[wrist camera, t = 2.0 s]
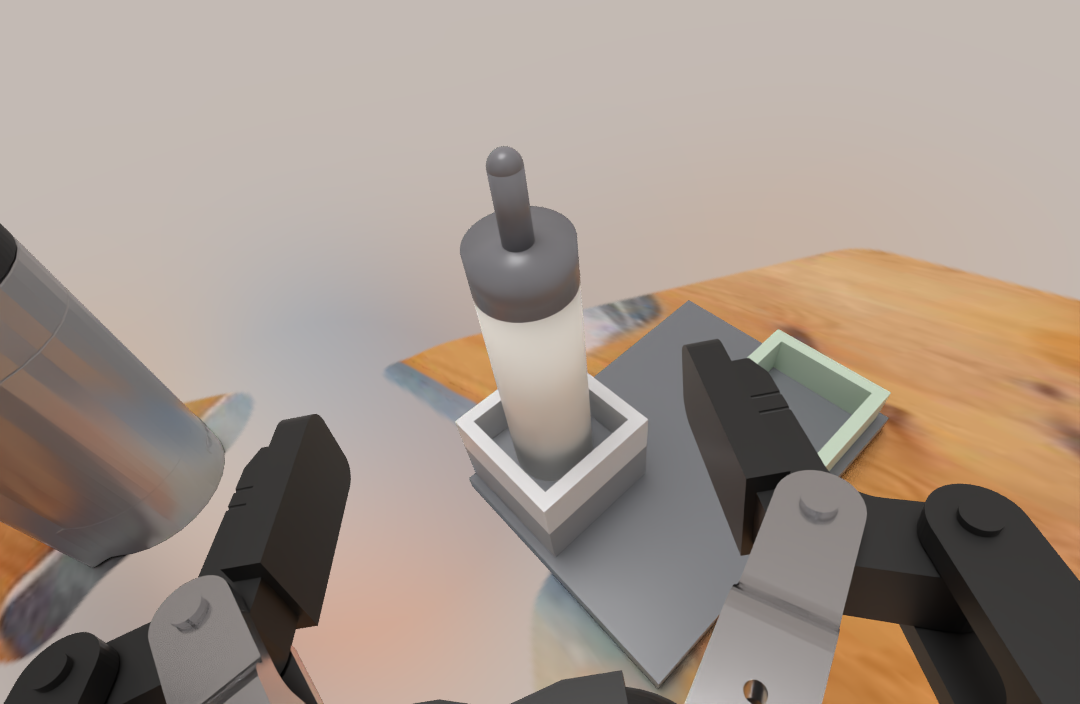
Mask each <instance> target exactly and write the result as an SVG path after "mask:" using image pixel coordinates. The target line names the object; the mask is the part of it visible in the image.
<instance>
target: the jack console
mask: <svg viewBox="0 0 1080 704" xmlns="http://www.w3.org/2000/svg"><path fill="white" fill-rule="evenodd" d="M713 339H719V340H720V341H721V342H722V344H723V346H724V348H725V350H726V351H727V353H728V355H729V357H730V359H731V361H733V360H739V359H744V358H750V359H751V360H753V361H754V362H755V363H757V364H758V365H760V366H761V367H762V368H764V369H765V370H766V371H768V372H769V374H770V375H771V377H772V379H773V380H774V382H775V384H776V385H777V387H778V389H779V390H780V394H782V395H783V397H784V399H785V400H786V402H787V404H788V405H789V409H790V410H792V412H793V414H794V415H795V417H796V419H797V420H798V422H799V423H800V425H801V427H802V428H803V430H804V432H805V433H806V435H807V437H808V438H809V440H810V442H811V443H812V445H813V447H814V448H815V450H816V452H817V453H818V455H819V457H820V458H821V460H822V462H823V463H824V465H825V466H826V468H827V469H828V471H829V472H830V473H831V474H833V475H836V476H838V477H841V476H842V474H843V473H844V472H845V471H846V470H847V469H848V467H849V466H850V465H851V464H852V463H853V462H854V460H855V459H856V458H857V457H858V456H859V455H860V453H861V452H862V451H863V450H864V449H865V448H866V447H867V445H868V444H869V443H870V442H871V441H872V440H873V438H874V437H875V436H876V435H877V434H878V433H879V431H880V430H881V429H882V428H883V427H884V425H885V423H886V422H887V420H888V419H889V418H888V417H886V416H884V415H883V414H881V413H879V412H880V410H881V409H882V407H883V405H884V404H885V402H886V400H887V399H888V397H889V395H890V394H891V393H890V392H889V391H887V390H885V389H883V388H882V387H880V386H878V385H876V384H875V383H873V382H871V381H869V380H867V379H866V378H864V377H862V376H860V375H859V374H857V373H855V372H853V371H851V370H850V369H848V368H846V367H844V366H843V365H841V364H839V363H837V362H836V361H834V360H832V359H830V358H828V357H827V356H825V355H823V354H821V353H820V352H818V351H816V350H814V349H812V348H811V347H809V346H807V345H805V344H804V343H802V342H800V341H798V340H796V339H795V338H793V337H791V336H789V335H788V334H786V333H784V332H782V331H781V330H779V329H778V330H777V331H776V332H774V333H773V334H772V335H771V336H770V337H769V338H768V339H767V340H766V341H765V342H764V343H761V342H759V341H757V340H756V339H754V338H752V337H750V336H749V335H747V334H745V333H744V332H742V331H740V330H739V329H737V328H735V327H733V326H732V325H730V324H728V323H727V322H725V321H723V320H722V319H720V318H718V317H716V316H715V315H713V314H711V313H710V312H708V311H706V310H705V309H703V308H701V307H700V306H698V305H696V304H694V303H693V302H691V301H689V300H688V301H687V302H686V303H685V304H683V305H682V306H681V307H680V308H679V309H677V310H676V311H675V312H674V313H672V314H671V315H670V316H669V317H667V318H666V319H665V320H664V321H662V322H661V323H660V324H659V325H658V326H656V327H655V328H654V329H653V330H651V331H650V332H649V333H648V334H646V335H645V336H644V337H643V338H642V339H640V340H639V341H638V342H637V343H635V344H634V345H633V346H632V347H630V348H629V349H628V350H627V351H625V352H624V353H623V354H622V355H621V356H619V357H618V358H617V359H616V360H614V361H613V362H612V363H611V364H609V365H608V366H607V367H606V368H605V369H603V370H602V371H601V372H600V373H598V374H597V375H596V376H595V377H592V376H591V375H590V374H589V373H587V375H588V388H589V401H590V414H591V427H592V440H593V451H592V452H591V453H590V454H588V455H587V456H586V457H585V458H584V459H583V460H582V461H580V462H579V463H578V464H577V465H576V466H575V467H574V468H572V469H571V470H570V471H569V472H568V473H567V474H566V475H564V476H563V477H562V478H561V479H560V480H559V481H545V480H540V479H537V478H535V477H533V476H531V475H530V474H528V473H527V472H526V471H525V470H524V469H523V468H522V467H521V465H520V464H519V462H518V459H517V456H516V452H515V449H514V445H513V441H512V438H511V434H510V431H509V427H508V423H507V420H506V416H505V413H504V409H503V406H502V402H501V398H500V395H499V391H498V389H497V390H496V391H495V392H493V393H492V394H491V395H489V396H488V397H487V398H485V399H484V400H483V401H481V402H480V403H479V404H478V405H476V406H475V407H474V408H472V409H471V410H470V411H468V412H467V413H466V414H464V415H463V416H462V417H460V418H459V419H458V420H456V421H455V423H456V426H457V428H458V431H459V433H460V435H461V438H462V440H463V443H464V445H465V448H466V450H467V453H468V455H469V457H470V460H471V462H472V465H473V467H474V470H475V472H476V473H475V474H474V475H473V476H471V477H470V482H471V484H472V486H473V487H474V488H475V490H476V491H477V492H478V493H479V494H480V495H481V496H482V497H483V498H484V499H485V500H486V502H487V503H488V504H489V505H490V506H491V507H492V508H493V509H494V510H495V511H496V512H497V514H498V515H499V516H500V517H501V518H502V519H503V520H504V521H505V522H506V523H507V524H508V526H509V527H510V528H511V529H512V530H513V531H514V532H515V533H516V534H517V535H518V536H519V538H520V539H521V540H522V541H523V542H524V543H525V544H526V545H527V546H528V547H529V548H530V550H531V551H532V552H533V553H534V554H535V555H536V556H537V557H538V558H539V559H540V560H541V562H542V563H543V564H544V565H545V566H546V567H547V568H548V569H549V570H550V571H551V573H552V574H553V575H554V576H555V577H556V578H557V579H558V580H559V581H560V582H561V583H562V585H563V586H564V587H565V588H566V589H567V590H568V591H569V592H570V593H571V594H572V595H573V597H574V598H575V599H576V600H577V601H578V602H579V603H580V604H581V605H582V606H583V607H584V609H585V610H586V611H587V612H588V613H589V614H590V615H591V616H592V617H593V618H594V619H595V621H596V622H597V623H598V624H599V625H600V626H601V627H602V628H603V629H604V630H605V631H606V633H607V634H608V635H609V636H610V637H611V638H612V639H613V640H614V641H615V642H616V644H617V645H618V646H619V647H620V648H621V649H622V650H623V651H624V652H625V653H626V654H627V656H628V657H629V658H630V659H631V660H632V661H633V662H634V663H635V664H636V665H637V666H638V668H639V669H640V670H641V671H642V672H643V673H644V674H645V675H646V676H647V677H648V678H649V680H650V681H651V682H652V683H653V684H654V685H655V686H656V687H657V688H659V687H660V686H661V685H662V683H663V682H664V681H665V680H666V679H667V678H668V677H669V675H670V674H671V673H672V672H673V671H674V670H675V668H676V667H677V666H678V665H679V664H680V663H681V661H682V660H683V659H684V658H685V657H686V656H687V654H688V653H689V652H690V651H691V650H692V649H693V647H694V646H695V645H696V644H697V643H698V642H699V640H700V639H701V638H702V637H703V636H704V635H705V634H706V632H707V631H708V630H709V629H710V628H711V627H712V625H713V624H714V623H715V622H716V621H717V620H718V618H719V615H720V613H721V610H722V608H723V605H724V603H725V600H726V598H727V596H728V593H729V591H730V589H731V588H732V586H733V585H734V584H737V583H738V582H739V580H740V578H741V576H742V573H743V571H744V568H745V566H746V563H747V561H748V558H749V555H750V554H749V555H743V556H741V555H740V553H739V550H738V548H737V545H736V543H735V540H734V538H733V535H732V532H731V530H730V527H729V525H728V522H727V520H726V517H725V515H724V512H723V509H722V507H721V504H720V502H719V499H718V497H717V494H716V491H715V489H714V486H713V484H712V481H711V479H710V476H709V474H708V471H707V468H706V466H705V463H704V461H703V458H702V456H701V453H700V451H699V448H698V445H697V443H696V440H695V438H694V435H693V433H692V430H691V427H690V425H689V422H688V419H687V415H686V411H685V405H684V398H683V371H682V347H683V345H687V344H692V343H697V342H702V341H708V340H713Z"/></svg>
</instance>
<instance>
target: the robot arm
mask: <svg viewBox="0 0 1080 704" xmlns="http://www.w3.org/2000/svg"><path fill="white" fill-rule="evenodd" d="M682 371H683V398H684V405H685V411H686V415H687V419H688V422H689V425H690V427H691V430H692V433H693V435H694V438H695V440H696V443H697V445H698V448H699V451H700V453H701V456H702V458H703V461H704V463H705V466H706V468H707V471H708V474H709V476H710V479H711V481H712V484H713V486H714V489H715V491H716V494H717V497H718V499H719V502H720V504H721V507H722V509H723V512H724V515H725V517H726V520H727V522H728V525H729V527H730V530H731V532H732V535H733V538H734V540H735V543H736V545H737V548H738V550H739V553H740V555H741V556H743V555H749V554H750V555H749V558H748V561H747V563H746V566H745V568H744V571H743V573H742V576H741V578H740V580H739V582H738V583H737V584H734V585H733V586H732V588H731V589H730V591H729V593H728V596H727V598H726V600H725V603H724V605H723V608H722V610H721V613H720V615H719V618H718V620H717V623H716V625H715V628H714V630H713V633H712V636H711V638H710V641H709V643H708V646H707V648H706V651H705V653H704V656H703V658H702V661H701V663H700V666H699V668H698V671H697V674H696V676H695V679H694V681H693V684H692V686H691V689H690V691H689V694H688V696H687V699H686V701H685V704H822V701H823V697H824V693H825V689H826V685H827V681H828V676H829V672H830V668H831V664H832V660H833V656H834V652H835V648H836V644H837V640H838V635H839V630H840V629H839V628H840V623H841V619H842V615H848V616H854V617H860V618H866V619H872V620H879V621H885V622H891V623H897V624H899V625H900V627H901V629H902V631H903V633H904V635H905V637H906V639H907V641H908V643H909V645H910V647H911V649H912V650H913V652H914V654H915V656H916V658H917V660H918V662H919V664H920V666H921V668H922V670H923V672H924V674H925V676H926V678H927V680H928V682H929V684H930V686H931V688H932V690H933V692H934V694H935V696H936V698H937V700H938V702H939V704H1080V581H1079V580H1078V578H1077V577H1076V576H1075V575H1074V573H1073V572H1072V571H1071V570H1070V568H1069V567H1068V566H1067V565H1066V563H1065V562H1064V561H1063V560H1062V558H1061V557H1060V556H1059V555H1058V553H1057V552H1056V551H1055V550H1054V548H1053V547H1052V546H1051V545H1050V543H1049V542H1048V541H1047V540H1046V538H1045V537H1044V536H1043V535H1042V533H1041V532H1040V531H1039V530H1038V528H1037V527H1036V526H1035V525H1034V523H1033V522H1032V521H1031V520H1030V518H1029V517H1028V516H1027V515H1026V514H1025V513H1024V511H1023V510H1022V509H1021V508H1020V507H1018V506H1017V505H1016V504H1015V503H1014V502H1012V501H1011V500H1009V499H1008V498H1006V497H1004V496H1002V495H1000V494H999V493H997V492H994V491H992V490H989V489H986V488H983V487H980V486H975V485H970V484H950V485H945V486H942V487H940V488H938V489H936V490H934V491H933V492H932V493H931V494H930V495H929V496H928V498H927V500H926V502H918V501H908V500H899V499H889V498H881V497H874V496H870V495H867V494H863V493H861V492H858V491H857V490H856V489H855V488H854V487H853V486H852V485H851V484H849V483H848V482H847V481H845V480H844V479H842V478H840V477H838V476H836V475H833V474H831V473H830V472H829V471H828V469H827V468H826V466H825V465H824V463H823V462H822V460H821V458H820V457H819V455H818V453H817V452H816V450H815V448H814V447H813V445H812V443H811V442H810V440H809V438H808V437H807V435H806V433H805V432H804V430H803V428H802V427H801V425H800V423H799V422H798V420H797V419H796V417H795V415H794V414H793V412H792V410H790V409H789V405H788V404H787V402H786V400H785V399H784V397H783V395H782V394H780V390H779V389H778V387H777V385H776V384H775V382H774V380H773V379H772V377H771V375H770V374H769V372H768V371H766V370H765V369H764V368H762V367H761V366H760V365H758V364H757V363H755V362H754V361H753V360H751V359H750V358H744V359H739V360H733V361H731V359H730V357H729V355H728V353H727V351H726V350H725V348H724V346H723V344H722V342H721V341H720V340H719V339H713V340H708V341H702V342H697V343H692V344H687V345H683V347H682ZM224 464H225V458H224V450H223V447H222V444H221V442H220V440H219V439H218V438H217V437H216V436H215V435H214V433H213V432H212V431H211V430H210V429H209V428H207V426H206V425H205V424H204V423H203V422H202V420H201V419H200V418H198V417H197V416H196V415H195V414H194V413H192V412H191V411H190V410H189V409H188V408H187V407H186V406H185V405H184V404H183V403H182V402H181V401H180V400H179V399H178V398H177V397H176V396H175V395H174V394H173V393H172V392H171V391H170V390H169V389H168V388H167V387H166V386H165V385H164V384H163V383H162V382H161V381H160V380H159V379H158V378H157V377H156V376H155V375H154V374H153V373H152V372H151V371H150V370H149V369H148V368H147V367H146V366H145V365H144V364H143V363H142V362H141V361H139V359H138V358H137V357H136V356H135V355H133V354H132V353H131V351H129V350H128V349H127V348H126V347H125V346H124V345H123V344H122V343H121V342H120V341H119V340H118V339H117V338H116V337H115V336H114V335H113V334H112V333H111V332H110V331H109V330H108V329H107V328H106V327H105V326H104V325H103V324H102V323H101V322H100V321H99V320H98V319H97V318H96V317H95V316H94V315H93V314H92V313H91V312H90V311H89V310H88V309H87V308H86V307H85V306H84V305H83V304H82V303H81V302H80V301H78V299H77V298H76V297H75V296H74V295H73V294H71V293H70V292H69V290H68V289H67V288H65V287H64V286H63V285H62V284H61V283H60V282H59V281H58V280H57V279H56V278H55V277H54V276H53V275H52V274H51V273H50V272H49V271H48V270H47V269H46V268H45V267H44V266H43V265H42V264H41V263H40V262H39V261H38V260H37V259H36V258H35V257H34V256H33V255H32V254H31V253H30V252H29V251H28V250H27V249H26V248H25V247H24V246H23V245H22V244H21V243H19V241H18V240H17V239H15V238H14V237H13V236H12V235H11V233H9V231H8V230H7V229H6V228H4V227H3V226H2V225H1V224H0V521H1V522H3V523H5V524H7V525H9V526H11V527H13V528H15V529H17V530H19V531H21V532H23V533H25V534H26V535H28V536H30V537H32V538H34V539H36V540H38V541H40V542H42V543H44V544H46V545H48V546H50V547H52V548H54V549H56V550H58V551H60V552H62V553H64V554H66V555H68V556H70V557H72V558H74V559H76V560H78V561H80V562H82V563H84V564H86V565H88V566H90V567H95V566H97V565H98V564H100V563H101V562H103V561H104V560H106V559H108V558H110V557H113V556H119V555H126V554H133V553H137V552H139V551H143V550H146V549H149V548H151V547H153V546H156V545H158V544H160V543H162V542H163V541H165V540H167V539H169V538H170V537H172V536H173V535H174V534H176V533H178V532H179V531H180V530H182V529H183V528H184V527H185V526H186V525H188V524H189V523H190V522H191V521H192V520H193V519H194V518H195V517H196V516H197V515H198V514H199V513H200V512H201V511H202V509H203V508H204V507H205V506H206V505H207V504H208V502H209V500H210V499H211V497H212V496H213V494H214V492H215V491H216V489H217V487H218V485H219V482H220V479H221V477H222V474H223V469H224ZM350 477H351V476H350V468H349V464H348V461H347V459H346V457H345V455H344V453H343V452H342V450H341V448H340V447H339V445H338V443H337V442H336V440H335V438H334V437H333V435H332V434H331V432H330V430H329V429H328V427H327V425H326V424H325V422H324V420H323V419H322V418H321V417H320V416H319V415H317V414H312V415H307V416H302V417H297V418H291V419H286V420H282V421H281V422H280V423H279V424H278V425H277V428H276V430H275V432H274V435H273V437H272V440H271V443H270V445H269V447H264V448H261V449H260V450H259V451H258V453H257V454H256V455H255V456H254V457H253V459H252V460H251V461H250V462H249V463H248V465H247V466H246V467H245V468H244V470H243V473H242V475H241V478H240V480H239V482H238V484H237V487H236V493H234V494H233V496H232V499H231V501H230V504H229V506H228V507H229V510H228V511H226V513H225V515H224V518H223V520H222V522H221V525H220V527H219V529H218V532H217V534H216V536H215V539H214V541H213V543H212V546H211V548H210V551H209V553H208V555H207V558H206V560H205V562H204V565H203V568H202V569H201V572H200V574H199V576H198V578H195V579H193V580H191V581H189V582H187V583H185V584H184V585H182V586H180V587H179V588H178V589H177V590H175V591H174V592H173V593H172V594H171V595H170V596H169V597H167V599H166V600H165V601H164V602H163V603H162V604H161V606H160V607H159V608H158V610H157V611H156V613H155V615H154V617H153V619H152V621H151V622H150V623H148V624H145V625H143V626H141V627H139V628H137V629H135V630H133V631H131V632H129V633H126V634H124V635H122V636H120V637H118V638H116V639H114V640H111V641H109V642H107V643H105V642H103V641H102V640H100V639H99V638H97V637H96V636H95V635H93V634H91V633H87V632H80V633H75V634H72V635H69V636H66V637H64V638H62V639H60V640H58V641H56V642H55V643H53V644H52V645H51V646H49V647H47V648H46V649H45V650H44V651H42V652H41V653H40V654H39V655H38V656H37V657H36V658H35V659H34V660H33V661H32V662H31V663H30V664H29V665H28V666H27V667H26V668H25V670H24V671H23V672H22V673H21V675H20V676H19V678H18V679H17V681H16V683H15V684H14V686H13V688H12V690H11V691H10V693H9V695H8V697H7V699H6V701H5V702H4V704H324V703H323V701H322V699H321V697H320V695H319V693H318V691H317V689H316V688H315V686H314V684H313V682H312V680H311V678H310V676H309V674H308V672H307V670H306V668H305V666H304V664H303V662H302V660H301V659H300V657H299V655H298V653H297V651H296V650H295V648H294V647H293V646H292V642H293V637H294V633H295V630H296V629H300V628H306V627H312V626H318V622H319V618H320V613H321V609H322V604H323V600H324V596H325V592H326V588H327V583H328V579H329V575H330V570H331V566H332V561H333V557H334V553H335V548H336V544H337V540H338V536H339V531H340V527H341V522H342V518H343V514H344V509H345V505H346V500H347V496H348V492H349V487H350V480H351V478H350ZM415 704H466V703H459V702H452V701H446V700H434V701H427V702H421V703H415ZM511 704H676V703H675V702H673V701H671V700H669V699H667V698H664V697H662V696H660V695H658V694H655V693H652V692H648V691H645V690H641V689H636V688H629V687H625V682H624V678H623V673H622V670H621V671H615V672H609V673H603V674H596V675H590V676H584V677H578V678H571V679H565V680H561V681H559V682H556V683H554V684H552V685H550V686H548V687H546V688H544V689H541V690H539V691H537V692H535V693H533V694H531V695H528V696H526V697H524V698H522V699H520V700H518V701H516V702H513V703H511Z"/></svg>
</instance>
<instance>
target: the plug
mask: <svg viewBox="0 0 1080 704" xmlns="http://www.w3.org/2000/svg"><path fill="white" fill-rule="evenodd" d="M486 171H487V176H488V181H489V186H490V190H491V195H492V200H493V205H494V210H495V212H494V213H492V214H490V215H488V216H486V217H484V218H482V219H481V220H479V221H478V222H476V223H475V224H474V225H473V226H472V227H471V228H470V229H469V230H468V231H467V233H466V234H465V235H464V237H463V239H462V242H461V246H460V255H461V258H462V262H463V266H464V269H465V273H466V276H467V280H468V283H469V287H470V290H471V294H472V298H473V301H474V305H475V309H476V312H477V316H478V319H479V323H480V327H481V330H482V334H483V337H484V341H485V345H486V348H487V352H488V355H489V359H490V362H491V366H492V370H493V373H494V377H495V380H496V384H497V388H498V391H499V395H500V398H501V402H502V406H503V409H504V413H505V416H506V420H507V423H508V427H509V431H510V434H511V438H512V441H513V445H514V449H515V452H516V456H517V459H518V462H519V464H520V465H521V467H522V468H523V469H524V470H525V471H526V472H527V473H528V474H530V475H531V476H533V477H535V478H537V479H540V480H545V481H559V480H560V479H561V478H562V477H563V476H564V475H566V474H567V473H568V472H569V471H570V470H571V469H572V468H574V467H575V466H576V465H577V464H578V463H579V462H580V461H582V460H583V459H584V458H585V457H586V456H587V455H588V454H590V453H591V452H592V451H593V440H592V427H591V414H590V401H589V388H588V375H587V362H586V349H585V336H584V323H583V310H582V297H581V284H580V270H579V257H578V244H577V233H576V230H575V227H574V226H573V224H572V223H571V221H570V220H569V219H568V218H566V217H565V216H564V215H562V214H560V213H558V212H556V211H554V210H551V209H547V208H543V207H537V206H530V204H529V197H528V190H527V183H526V176H525V170H524V163H523V159H522V157H521V155H520V154H519V153H518V152H517V151H516V150H515V149H513V148H511V147H508V146H503V147H502V146H501V147H498V148H496V149H494V150H493V151H492V152H491V153H490V155H489V156H488V158H487V161H486Z"/></svg>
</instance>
